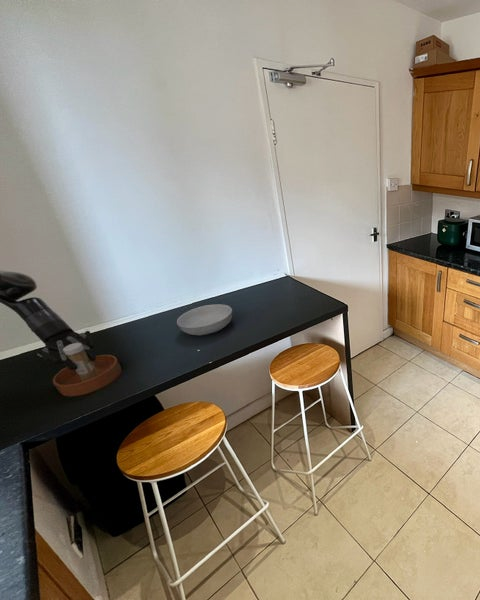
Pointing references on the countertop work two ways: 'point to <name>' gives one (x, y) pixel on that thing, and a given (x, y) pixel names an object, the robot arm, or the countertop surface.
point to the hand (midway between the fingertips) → (85, 364)
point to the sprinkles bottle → (81, 361)
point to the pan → (74, 386)
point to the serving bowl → (205, 319)
